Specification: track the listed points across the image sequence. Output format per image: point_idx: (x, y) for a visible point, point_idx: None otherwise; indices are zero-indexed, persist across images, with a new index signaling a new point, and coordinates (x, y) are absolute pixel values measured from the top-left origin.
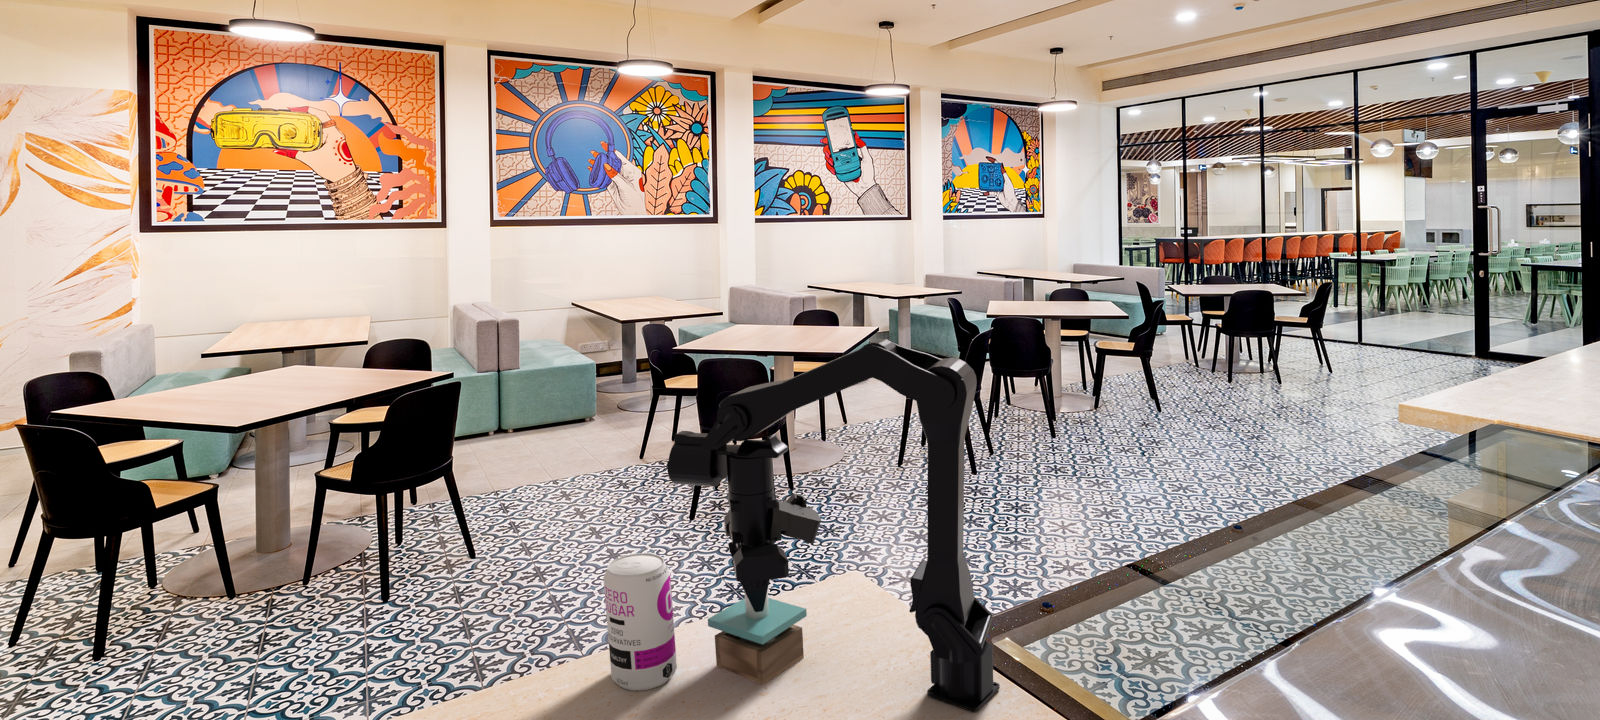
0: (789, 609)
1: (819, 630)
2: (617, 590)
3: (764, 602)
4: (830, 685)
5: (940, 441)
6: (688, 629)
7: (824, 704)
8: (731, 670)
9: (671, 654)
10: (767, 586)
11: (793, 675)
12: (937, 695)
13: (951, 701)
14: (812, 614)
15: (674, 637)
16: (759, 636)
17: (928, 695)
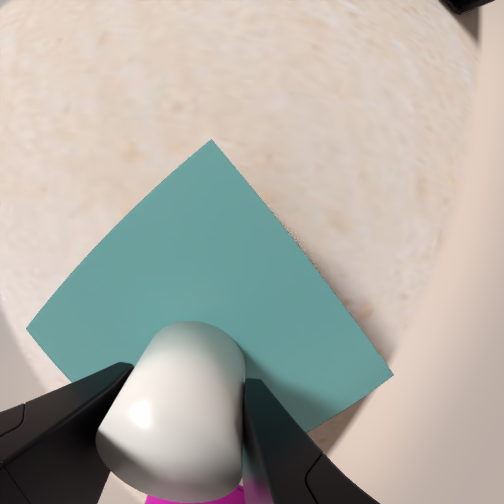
0: (191, 222)
1: (102, 106)
2: None
3: (280, 403)
4: (388, 151)
5: None
6: (52, 390)
7: (448, 193)
8: None
9: (240, 489)
10: (338, 472)
11: (315, 225)
12: (470, 8)
13: (482, 4)
14: (30, 117)
15: (211, 501)
16: (382, 381)
17: (459, 14)
